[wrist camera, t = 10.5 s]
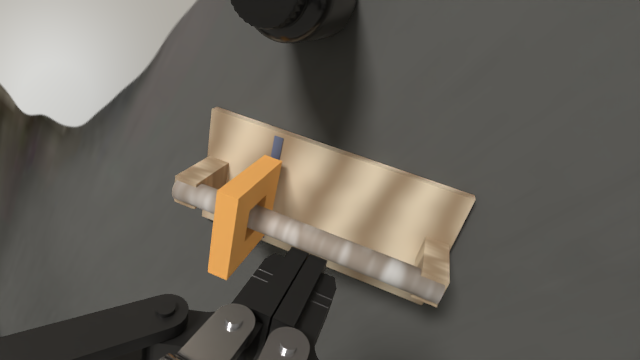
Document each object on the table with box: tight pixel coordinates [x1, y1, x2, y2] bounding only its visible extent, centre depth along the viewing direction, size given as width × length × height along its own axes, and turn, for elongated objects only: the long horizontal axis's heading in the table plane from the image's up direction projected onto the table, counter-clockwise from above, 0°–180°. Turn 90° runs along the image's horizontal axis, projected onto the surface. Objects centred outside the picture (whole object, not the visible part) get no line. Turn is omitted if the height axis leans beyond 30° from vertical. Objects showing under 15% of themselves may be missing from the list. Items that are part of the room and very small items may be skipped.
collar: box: [208, 155, 282, 280], centre depth 36 cm, size 2×9×9 cm, turn 166°
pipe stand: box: [172, 107, 475, 307], centre depth 37 cm, size 28×14×8 cm, turn 76°
